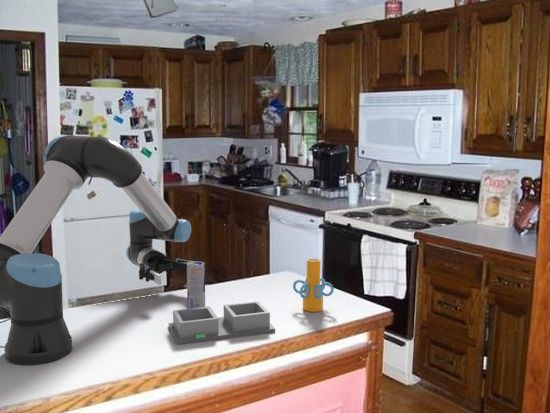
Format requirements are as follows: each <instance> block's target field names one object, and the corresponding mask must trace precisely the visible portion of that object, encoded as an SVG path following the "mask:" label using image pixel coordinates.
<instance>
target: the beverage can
mask: <svg viewBox="0 0 550 413" xmlns="http://www.w3.org/2000/svg"><path fill="white" fill-rule="evenodd" d="M192 261H193V262H188V263H187V271H186V287H187V288H186V292H187V293H186V294H187V309H191V308H200V307H206V265H205V264H206V263H205V262H204V261H195V260H192Z"/></svg>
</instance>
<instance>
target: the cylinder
mask: <svg viewBox="0 0 550 413" xmlns="http://www.w3.org/2000/svg"><path fill="white" fill-rule="evenodd" d="M321 282H322V283H321ZM298 283H302V285H301V286H300V289H299V290H298V289H297V288H296V286H297V284H298ZM326 286H329V287H330V291H329V293H325V292H324V290H325V287H326ZM292 289H293V290H294V292H295V293H297V294H299V296H300V298H302V310H303V311H305V312H309V313H318V312H321V311H323V309H324V297H330V296H332V294H334V290H335V289H334V286H333V284H332V283H331V282H328V281H326V280H325V278H323V277H321V259H320V258H314V257H311V258H307V259H306V278H305V280H303V279H297V280H295V281H294V282H293V285H292Z"/></svg>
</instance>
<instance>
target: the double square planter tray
mask: <svg viewBox="0 0 550 413" xmlns="http://www.w3.org/2000/svg"><path fill="white" fill-rule="evenodd" d="M270 317H271V312H270V311H269V310H268V309H266V307H265V306H264V305H263V304H261V303H260V301H259V300H257V301H256V300H255V301H249V302H248V301H247V302H239V303H230V304H223V316H221V317H220V316H219V317H218V316H217V315H216V312H214V310H213V309H212V308H211V307H210V306H205V307H200V308H191V309H188V308H185V309H175V310H172V322H168V328H170V329H169V330H171V331H170V332H171V334H172V337H173V339H174V340H175V343H176V345H179V346H180V345H186V344H187V343H188V344H194V343H202V342H208V341H217V340H224V339H233V338H240V337H241V338H242V337H249V336H256V335H263V334H271V333H272V334H273V333H276V328H275V327H274V326H273V325H272V324H271V318H270Z"/></svg>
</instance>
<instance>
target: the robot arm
mask: <svg viewBox="0 0 550 413" xmlns="http://www.w3.org/2000/svg"><path fill="white" fill-rule="evenodd" d="M43 154H44V155H45V156H44V157H43V163H44V164H43V170H44V174H43V176H42V177H41V178H40V179H39V181H38V182H37V184H36V185H35V187H34V188H33V190H32V191H31V192H30V194H29V196H28V197H27V198H26V200H24V203H23V204H22V205H21V206H20V208H19V209H18V211H17V212H16V214H15V216H14V217H13V218H12V219H11V221H10V222H9V224H8V225H7V227H6V228H5V229H4V231H3V232H2V234H1V235H0V307H5V308H8V309H9V313H10V328H9V331H8V335H7V340H6V343H5V345H4V357H5V360H6V361H8V362H9V363H12V364H14V365H15V364H16V365H25V366H26V365H38V364H45V363H50V362H53V361H56V360H60V359H61V358H62V359H63V358H64V357H65V356H67V355H68V354H70V353H71V352H72V350H73V338H72V336H71V334H70V331H69V329H68V327H67V326H68V325H67V324H66V323H67V322H65V319H64V308H63V307H64V306H63V305H64V302H63V276H62V272H61V265H60V262H59V260H58V259H57V258H56V257H53V256H51V255H50V254H45V253H40V252H39V253H38V252H36V253H33V252H34V250H35V248H36V247H37V245H38V244H39V242H40V241H41V239H42V237H43V236H44V235H45V233H46V232H47V230H48V228H50V225H51V224H52V222H53V220H54V219H55V218H56V216H57V215H58V214H59V212H60V210H61V209H62V207H63V205H64V204H65V203H66V202H67V200H68V198H69V196H70V195H71V193H72V192H73V191H74V190H79V189H81V188H82V187H83V185H84V184H85V182H86V181H87V179H88V178H99V179H104V180H108V181H110V182H111V183H112V184H113V185H114V186H115V187H116V188H118V189H122V190H123V191H124V193H125V194H126V195H127V196H128V198H130V200H131V201H132V202H133V203H134V205H136V207H137V208H138V209H133V210H131V211H130V212H129V222H128V226H129V245H128V247H127V249H126V252H125V253H126V257H127V259H128V261H130V262H131V263H132V264H133V265H135V266H138V267H139V268H138V269H139V270H138V280H141V281H142V280H144V278H145V282H147V283H148V282H150V281H152V282H154V283H155V284H157V285H162V275H161V274H162V273H164V272H175V271H182V272H183V271H184V272H187V263H188V262H193V261H194V260H190V259H189V260H187V259H183V258H179V257H176V258H175V259H169V258H168V257H167V256H166V255H165V253H163V252H161V251H159V250H157V249H155V248H153V242H154V241H153V240H160V241H167V242H175V243H185V242H187V241H188V240H189V239H190V236H191V234H192V226H191V223H190V221H189V220H187V219H183V218H178V217H177V215H176V214H175V213H174V211H173V209H172V208H170V206H169V204H168V203H167V202H166V201H165V200H164V198H163V197H162V196H161V195H160V193H159V192H158V191H157V189H156V188H155V187H154V186H153V184H152V183H151V182H150V180H149V179H148V178H147V176H145V174H144V173H143V166H142V164H141V163H140V161H139V160H138V159H137V158H136V157H135V156H134V155H133V154H132V153H131V152H130V151H129V150H128V149H127V148H126V147H124V146H123V145H121V144H120V143H119V142H117V141H116V140H113V139H111V138H109V137H105V136H100V135H99V136H89V135H88V136H87V135H86V136H84V135H72V134H69V135H68V134H67V135H61V136H57V137H55V138H53V139H51V140H50V142H49V143H47V144H46V147H45V149H44V153H43Z"/></svg>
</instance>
